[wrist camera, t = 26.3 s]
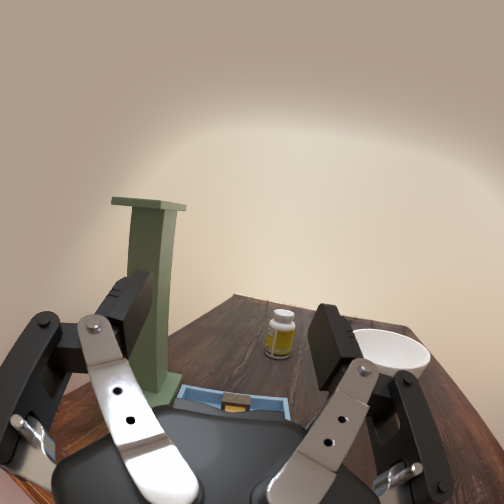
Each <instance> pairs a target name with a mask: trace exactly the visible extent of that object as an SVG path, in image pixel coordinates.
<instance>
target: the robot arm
mask: <svg viewBox="0 0 504 504" xmlns="http://www.w3.org/2000/svg"><path fill="white" fill-rule="evenodd" d="M152 290H153V273H152V272H150V271H145V270H141V269H136V270H135V272H134V273H133V275H132V276H131V278H128V277H124V278H122V279H120V280H119V281H117V282H116V283H115V285H114V286H113V288H112V290H110V292H109V294H108V295H107V296H106V298H105V299H104V301H103V302H102V303H101V305H100V306H99V308H98V309H97V311H96V312H95V314H92V315H87V316H85V317H83V318H82V319H81V320H80V321H79V322H78V323H76V324H75V323H60V320H59V317H58V316H57V315H56V314H55V313H53V312H50V311H44V312H40V313H38V314H36V315H35V316H34V317H33V318H32V319H31V321H30V322H29V324H28V325H27V326H26V328H25V329H24V331H23V332H22V334H21V335H20V337H19V338H18V340H17V341H16V343H15V344H14V346H13V347H12V349H11V350H10V352H9V354H8V355H7V357H6V359H5V360H4V362H3V363H2V365H1V367H0V468H2V469H3V470H4V471H6V472H7V473H9V474H11V475H13V476H15V477H16V478H18V479H20V480H22V481H29V482H31V483H33V484H35V485H37V486H39V487H40V488H42V489H44V490H46V491H48V492H51V493H52V494H53V497H54V501H55V504H441V503H443V502H445V501H447V500H448V499H449V498H450V497H451V496H452V494H453V491H454V482H453V478H452V474H451V471H450V467H449V464H448V461H447V457H446V454H445V451H444V448H443V445H442V442H441V439H440V436H439V433H438V430H437V428H436V425H435V422H434V420H433V417H432V414H431V412H430V409H429V406H428V404H427V401H426V399H425V397H424V394H423V392H422V389H421V387H420V385H419V382H418V380H417V378H416V377H415V376H414V375H413V374H412V373H410V372H409V371H406V370H399V371H397V372H396V373H395V374H394V376H393V377H392V376H388V375H385V374H381V373H379V370H378V368H377V367H376V365H375V364H374V363H373V362H371V361H370V360H368V359H365V358H364V356H363V354H362V351H361V349H360V346H359V344H358V342H357V339H355V338H356V337H355V334H354V333H353V330H352V327H351V325H350V323H349V322H348V321H347V320H346V319H345V318H344V316H340V314H339V312H338V309H337V307H336V306H335V305H330V304H323V303H322V304H320V305H319V306H318V308H317V311H316V313H315V315H314V317H313V320H312V322H311V324H310V326H309V329H308V342H309V346H310V350H311V355H312V359H313V364H314V368H315V373H316V377H317V382H318V387H319V391H328V392H329V395H328V397H327V398H326V399H325V401H324V402H323V404H322V405H321V407H320V408H319V410H318V411H317V413H316V414H315V416H314V417H313V419H312V420H311V421H310V423H309V424H308V425H307V427H306V428H304V427H302V426H301V425H299V424H297V423H295V422H293V421H290V420H288V419H285V412H284V411H270V410H251V411H242V412H227V411H224V410H221V409H219V408H216V407H213V406H211V405H208V404H205V403H203V402H198V401H192V400H187V399H182V398H177V397H175V399H174V403H173V404H166V405H159V406H155V407H152V408H150V406H149V404H148V402H147V400H146V398H145V396H144V394H143V392H142V390H141V388H140V386H139V384H138V382H137V380H136V378H135V376H134V374H133V372H132V369H131V367H130V365H129V363H128V361H127V360H129V358H130V355H131V353H132V351H133V348H134V346H135V343H136V341H137V339H138V337H139V334H140V332H141V330H142V327H143V325H144V323H145V321H146V318H147V316H148V314H149V312H150V309H151V305H152ZM72 373H87V374H89V376H90V380H91V383H92V386H93V389H94V392H95V395H96V398H97V401H98V403H99V406H100V409H101V411H102V414H103V417H104V419H105V422H106V424H107V426H108V429H109V431H110V433H108V434H106V435H105V436H103V437H101V438H100V439H98V440H96V441H94V442H93V443H91V444H89V445H88V446H86V447H84V448H82V449H81V450H79V451H77V452H75V453H73V454H72V455H70V456H68V457H66V458H64V459H63V460H61V461H60V462H59V463H58V464H57V462H56V459H55V442H54V440H53V438H52V436H51V435H50V434H49V431H50V428H51V425H52V422H53V419H54V417H55V414H56V411H57V409H58V406H59V404H60V401H61V399H62V396H63V393H64V391H65V389H66V386H67V384H68V382H69V379H70V377H71V375H72ZM396 412H397V414H398V417H399V420H400V429H398V426H397V422H396V419H395V416H394V414H395V413H396ZM364 418H366V422H367V426H368V431H369V435H370V440H371V445H372V450H373V455H374V460H375V465H376V470H377V477H376V479H375V480H374V484H373V488H372V489H371V488H369V487H368V486H367V485H366V484H365V483H364V482H362V481H361V480H360V479H359V478H358V477H357V476H356V475H354V474H353V473H352V472H351V471H350V470H349V469H348V468H347V467H346V466H344V465H343V464H342V461H343V459H344V458H345V456H346V454H347V452H348V450H349V449H350V447H351V445H352V443H353V441H354V439H355V437H356V435H357V433H358V431H359V429H360V427H361V425H362V423H363V421H364Z"/></svg>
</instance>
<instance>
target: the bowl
mask: <svg viewBox="0 0 504 504" xmlns="http://www.w3.org/2000/svg"><path fill="white" fill-rule="evenodd" d="M353 333H354V334H355V337H356V338H355V339H357V342H358V344H359V346H360V349H361V351H362V354H363V356H364V358H365V359H368V360H370V361H371V362H373V363H374V364H375V365H376V367H377V368H378V370H379V373H381V374H385V375H388V376H392V377H393V376H394V374H395V373H396V372H397V371H399V370H406V371H409V372H410V373H412V374H413V375H414V376H415V377H416V378H417V379H418V378H419V376H420V375H421V373H422V372H423V371H424V369H425V368H426V366H427V365H428V363H429V361H430V353H429V351H428V350H427V349H426V348H425V347H424V346H423V345H422V344H420V343H419V342H417V341H415V340H413V339H411V338H409V337H406V336H404V335H401V334H398V333H394V332H390V331H384V330H377V329H359V330H354V331H353Z"/></svg>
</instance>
